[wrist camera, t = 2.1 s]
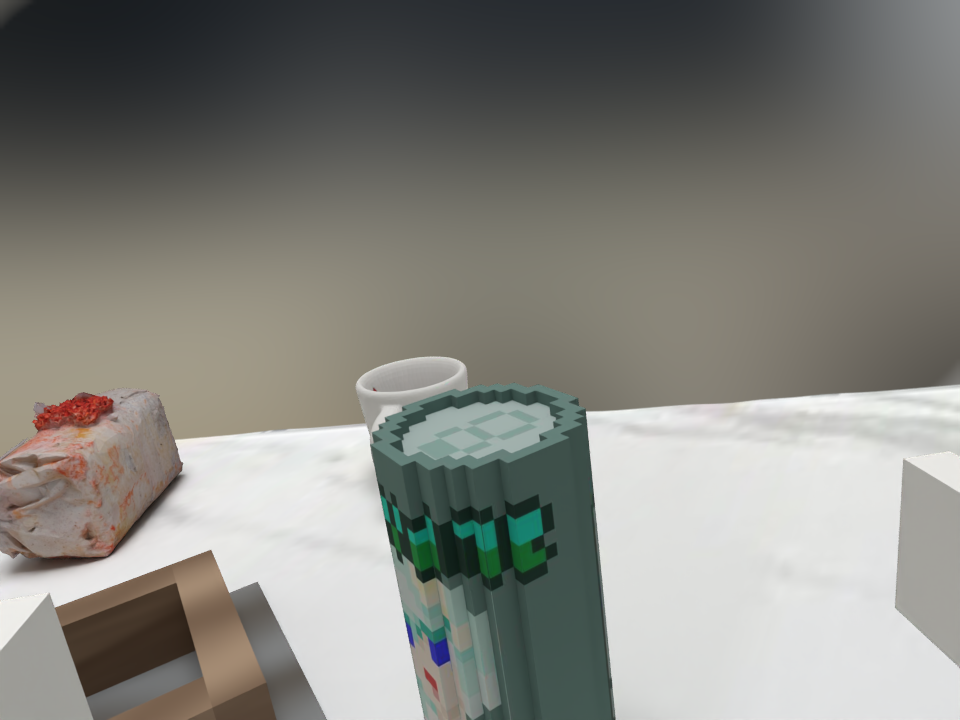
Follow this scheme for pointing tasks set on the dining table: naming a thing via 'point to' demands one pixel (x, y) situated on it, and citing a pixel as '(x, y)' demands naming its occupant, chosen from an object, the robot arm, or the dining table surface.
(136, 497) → the food item
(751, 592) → the dining table surface
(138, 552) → the dining table surface
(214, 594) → the holder
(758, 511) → the dining table surface
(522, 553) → the can
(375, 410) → the cup
